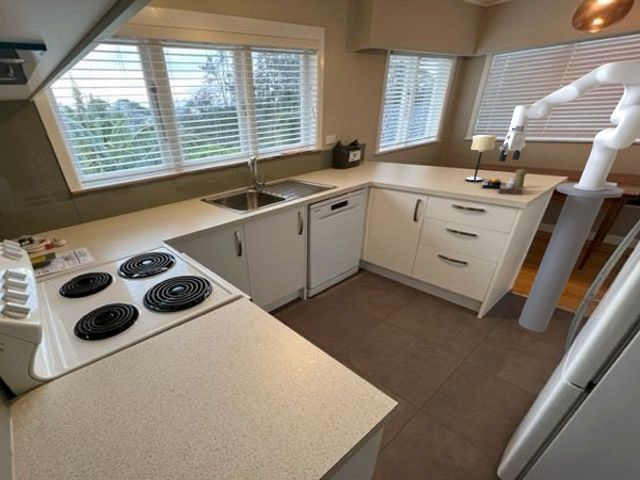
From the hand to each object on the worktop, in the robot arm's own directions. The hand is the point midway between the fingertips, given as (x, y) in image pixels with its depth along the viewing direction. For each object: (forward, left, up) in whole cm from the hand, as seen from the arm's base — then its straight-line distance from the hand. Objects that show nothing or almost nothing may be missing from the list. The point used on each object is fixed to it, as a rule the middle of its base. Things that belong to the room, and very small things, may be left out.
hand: (508, 160), depth 175 cm
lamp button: (+4, -5, -14) cm, 15 cm away
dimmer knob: (-4, +6, -14) cm, 16 cm away
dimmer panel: (-4, +6, -17) cm, 19 cm away
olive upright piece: (-8, -7, -18) cm, 21 cm away
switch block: (+4, -5, -17) cm, 18 cm away
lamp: (+15, -21, -17) cm, 31 cm away
